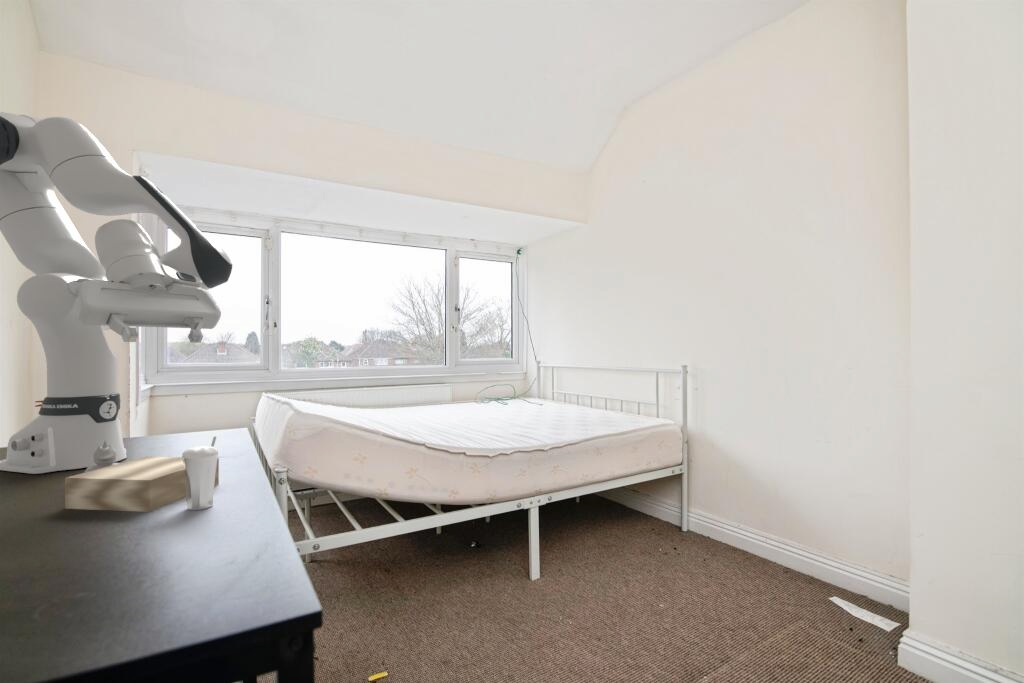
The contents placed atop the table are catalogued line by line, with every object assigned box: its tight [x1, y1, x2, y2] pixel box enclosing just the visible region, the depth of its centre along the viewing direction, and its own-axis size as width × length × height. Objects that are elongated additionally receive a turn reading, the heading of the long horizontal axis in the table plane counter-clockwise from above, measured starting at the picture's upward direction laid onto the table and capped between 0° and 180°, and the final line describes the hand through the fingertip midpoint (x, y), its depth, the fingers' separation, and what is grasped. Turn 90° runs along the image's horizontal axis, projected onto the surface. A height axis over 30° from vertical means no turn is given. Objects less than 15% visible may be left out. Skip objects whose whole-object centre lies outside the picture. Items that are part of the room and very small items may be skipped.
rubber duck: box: [84, 441, 120, 473], centre depth 84 cm, size 5×7×8 cm
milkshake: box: [181, 436, 219, 511], centre depth 72 cm, size 4×5×10 cm
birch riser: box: [64, 456, 220, 513], centre depth 78 cm, size 14×14×5 cm
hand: (166, 339), depth 79 cm, fingers open, 8 cm apart
